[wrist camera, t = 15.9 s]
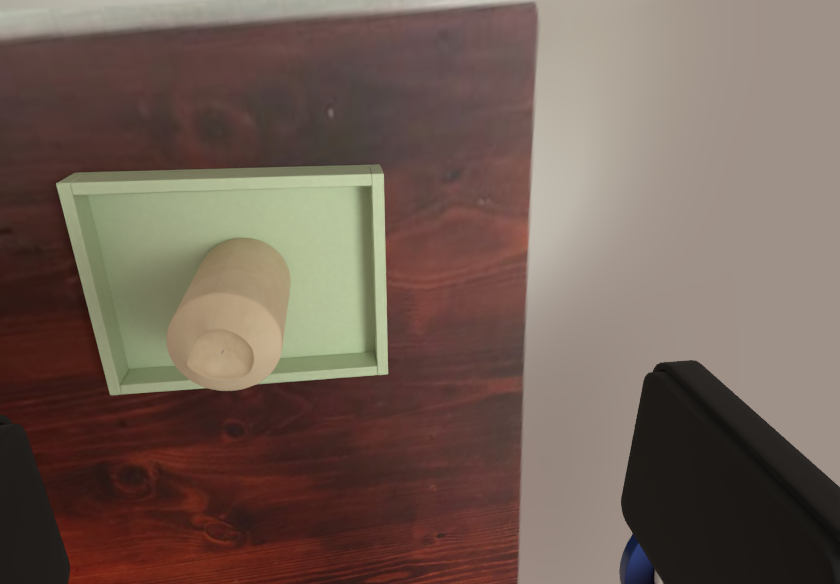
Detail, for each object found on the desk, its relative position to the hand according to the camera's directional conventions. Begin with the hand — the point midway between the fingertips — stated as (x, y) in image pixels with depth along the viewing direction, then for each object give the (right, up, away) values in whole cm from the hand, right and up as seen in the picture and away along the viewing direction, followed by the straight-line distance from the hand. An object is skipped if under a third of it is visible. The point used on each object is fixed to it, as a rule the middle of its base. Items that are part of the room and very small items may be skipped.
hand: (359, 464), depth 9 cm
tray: (-10, +4, +28) cm, 30 cm away
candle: (-10, +4, +28) cm, 30 cm away
